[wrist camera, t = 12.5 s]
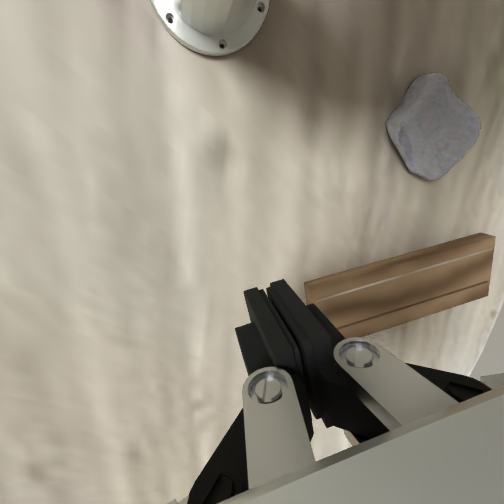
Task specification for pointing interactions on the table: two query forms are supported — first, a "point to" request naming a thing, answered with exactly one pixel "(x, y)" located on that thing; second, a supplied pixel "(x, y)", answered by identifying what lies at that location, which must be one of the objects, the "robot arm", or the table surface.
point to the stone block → (432, 127)
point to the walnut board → (405, 286)
